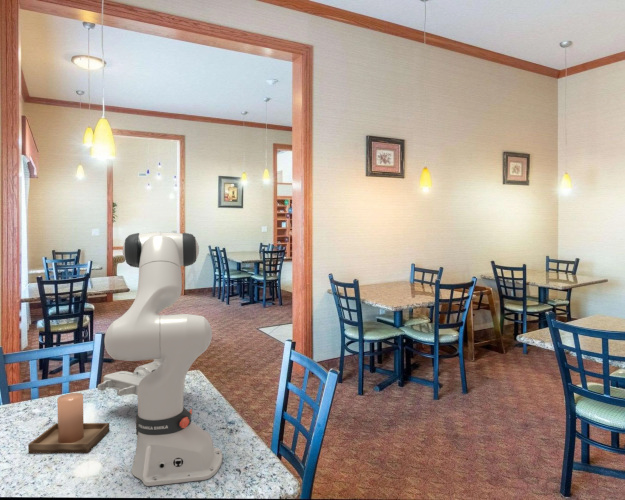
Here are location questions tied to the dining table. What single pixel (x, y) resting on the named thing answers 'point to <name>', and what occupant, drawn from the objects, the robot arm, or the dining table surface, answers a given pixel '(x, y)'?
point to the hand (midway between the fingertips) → (108, 390)
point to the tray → (85, 445)
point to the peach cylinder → (70, 418)
